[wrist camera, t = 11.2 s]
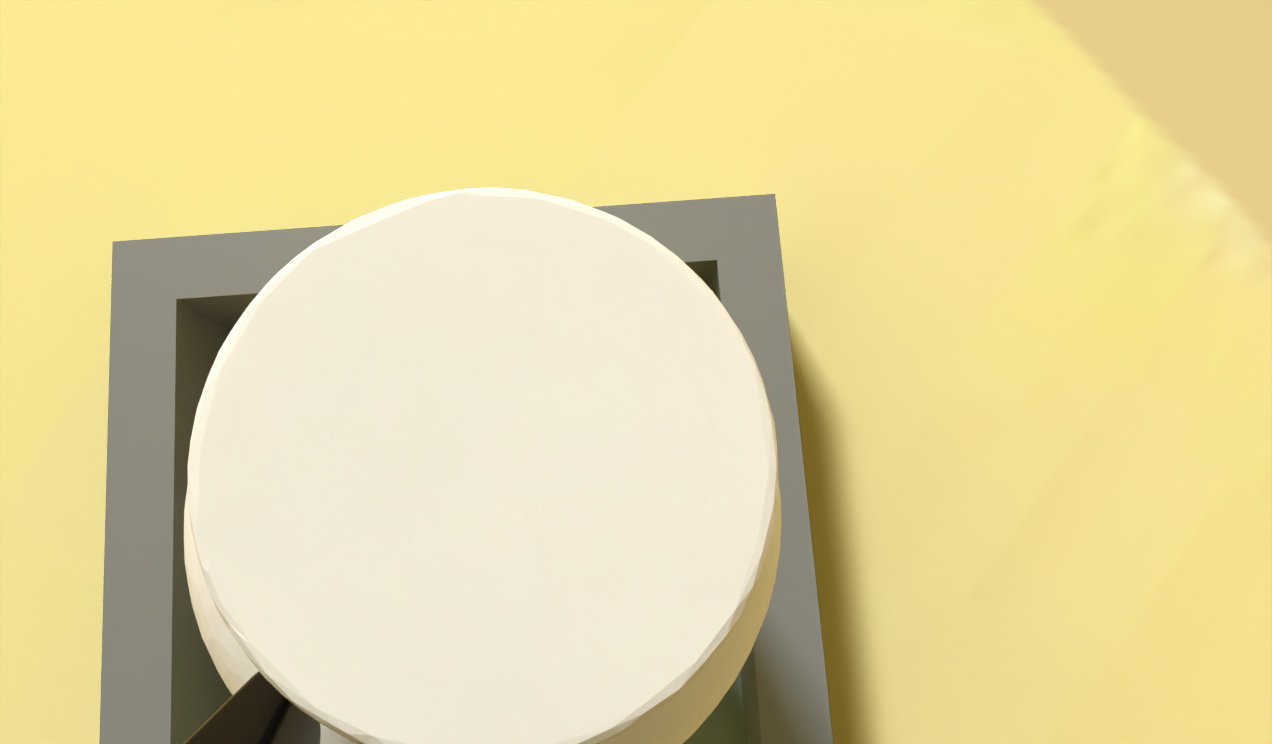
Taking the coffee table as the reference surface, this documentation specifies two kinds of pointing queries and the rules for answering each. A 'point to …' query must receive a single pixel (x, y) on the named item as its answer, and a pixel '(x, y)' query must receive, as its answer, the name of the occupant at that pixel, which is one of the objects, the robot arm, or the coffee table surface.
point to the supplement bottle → (485, 481)
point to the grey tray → (164, 417)
